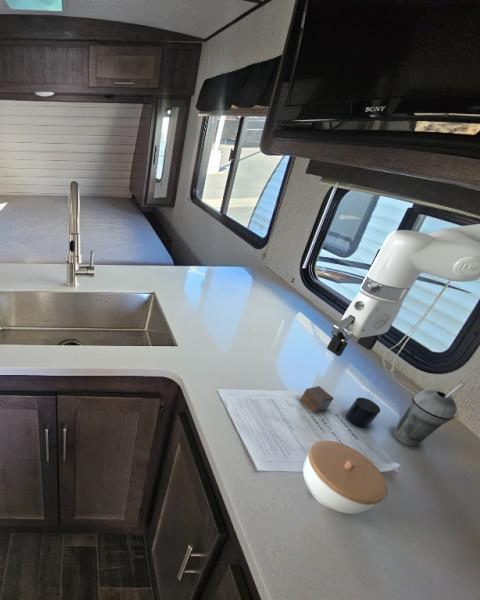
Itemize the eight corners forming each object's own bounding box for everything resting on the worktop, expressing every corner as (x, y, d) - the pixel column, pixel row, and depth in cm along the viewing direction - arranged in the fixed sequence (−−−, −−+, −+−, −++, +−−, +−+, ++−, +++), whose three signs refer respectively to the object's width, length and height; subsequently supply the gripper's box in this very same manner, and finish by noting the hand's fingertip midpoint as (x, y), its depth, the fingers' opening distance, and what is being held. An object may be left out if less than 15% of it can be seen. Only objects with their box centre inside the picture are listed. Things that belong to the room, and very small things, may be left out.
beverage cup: (388, 420, 85) (433, 364, 75) (425, 438, 81) (478, 381, 70) (384, 437, 81) (432, 379, 70) (423, 457, 76) (480, 398, 66)
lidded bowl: (317, 525, 63) (343, 495, 57) (282, 464, 73) (301, 433, 68) (380, 526, 63) (412, 496, 57) (336, 465, 74) (359, 434, 68)
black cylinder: (354, 411, 88) (365, 395, 84) (373, 426, 83) (385, 410, 80) (340, 414, 86) (351, 399, 83) (358, 430, 82) (370, 414, 79)
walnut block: (312, 397, 91) (319, 385, 89) (326, 409, 88) (333, 398, 85) (299, 399, 90) (306, 388, 88) (313, 412, 87) (320, 401, 84)
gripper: (372, 301, 65) (335, 365, 73) (432, 292, 69) (390, 353, 77) (337, 284, 71) (307, 345, 80) (394, 276, 75) (360, 335, 84)
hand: (348, 349), depth 78 cm, fingers open, 9 cm apart
